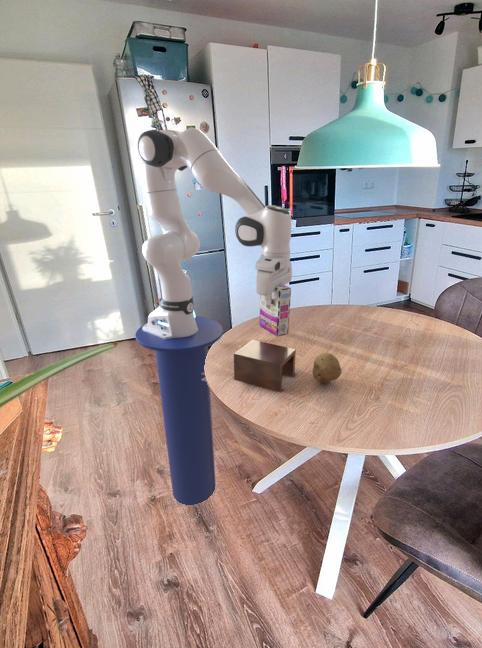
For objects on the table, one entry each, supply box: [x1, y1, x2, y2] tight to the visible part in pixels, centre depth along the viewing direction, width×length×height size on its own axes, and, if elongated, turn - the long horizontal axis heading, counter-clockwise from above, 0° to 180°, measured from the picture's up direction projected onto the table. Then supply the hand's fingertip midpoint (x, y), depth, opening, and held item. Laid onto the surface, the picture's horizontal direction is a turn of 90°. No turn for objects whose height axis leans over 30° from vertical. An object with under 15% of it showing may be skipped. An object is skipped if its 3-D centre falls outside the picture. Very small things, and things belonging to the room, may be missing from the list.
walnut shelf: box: [233, 339, 297, 393], centre depth 125 cm, size 16×12×9 cm
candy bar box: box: [259, 284, 292, 338], centre depth 130 cm, size 11×5×16 cm, turn 37°
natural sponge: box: [311, 352, 343, 383], centre depth 123 cm, size 9×9×10 cm
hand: (274, 301), depth 129 cm, fingers closed on candy bar box, 6 cm apart
